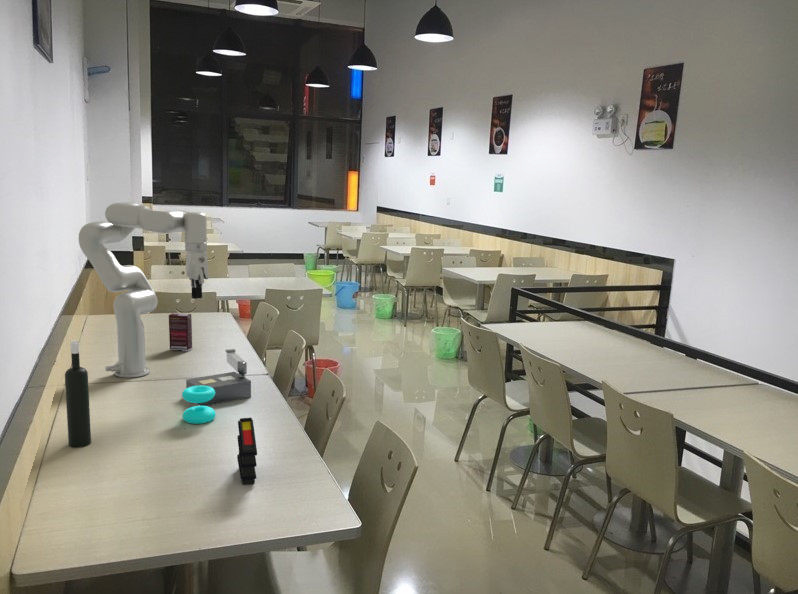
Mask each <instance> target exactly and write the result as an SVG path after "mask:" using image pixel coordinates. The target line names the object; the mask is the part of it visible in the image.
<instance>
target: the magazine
mask: <svg viewBox="0 0 798 594" xmlns="http://www.w3.org/2000/svg"><path fill="white" fill-rule="evenodd" d="M237 426H238V428H237V429H238V435H237V446H238V454H237V455H236V456H237V457H236V459H237V465H238V470H239V475H240V481H241V484H242V485H244V486H245V485H254V484H255V482H256V481H255V480H256V479H257V474H256V467H257V466H258V465H257V458H256V456H258V449H257V442H256V433H255V427H254V420H253V418H252V417H242V418H239V420H237Z"/></svg>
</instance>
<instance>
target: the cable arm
mask: <svg viewBox="0 0 798 594" xmlns="http://www.w3.org/2000/svg"><path fill="white" fill-rule="evenodd" d="M225 352H226V363H227V364H229V365H230V367H232V368H233V370H235V372H236V373H238V374H241V375H244V374H245V375H246V374H248V373H247V372H248V371H247V369H248V368H247V367H248V366H247V365H248V363H247V361H245V360H244V359H243V358H242V357H241V356H240V355H238V354H237V353H236V350H235V348H230V349H225Z"/></svg>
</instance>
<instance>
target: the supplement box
mask: <svg viewBox="0 0 798 594" xmlns="http://www.w3.org/2000/svg"><path fill="white" fill-rule="evenodd" d="M192 321H193V320H192V313H178V312H177V313H176V312H173V313H172V312H171V313H170V314H168V332H169V334H168V335H169V337H168V339H169V351H170V350H182V351H181V352H189V350H190V351H191V349H192V350H193V330H192V329H193V326H192V325H193V324H192V323H193V322H192Z"/></svg>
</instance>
